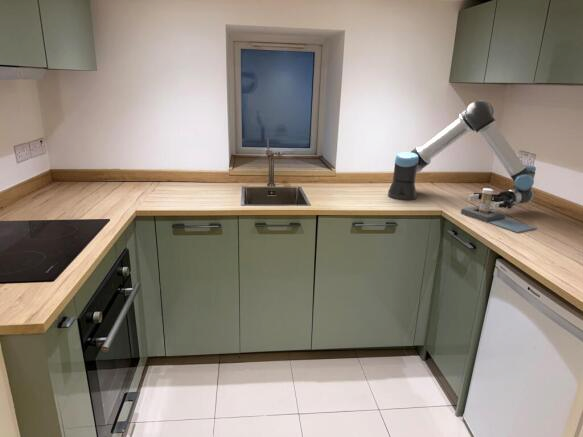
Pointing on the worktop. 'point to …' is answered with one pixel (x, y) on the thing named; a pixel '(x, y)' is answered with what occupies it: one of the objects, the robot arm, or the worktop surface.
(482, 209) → the sprinkles bottle
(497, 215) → the collar block
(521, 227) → the slate mat
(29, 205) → the worktop surface
